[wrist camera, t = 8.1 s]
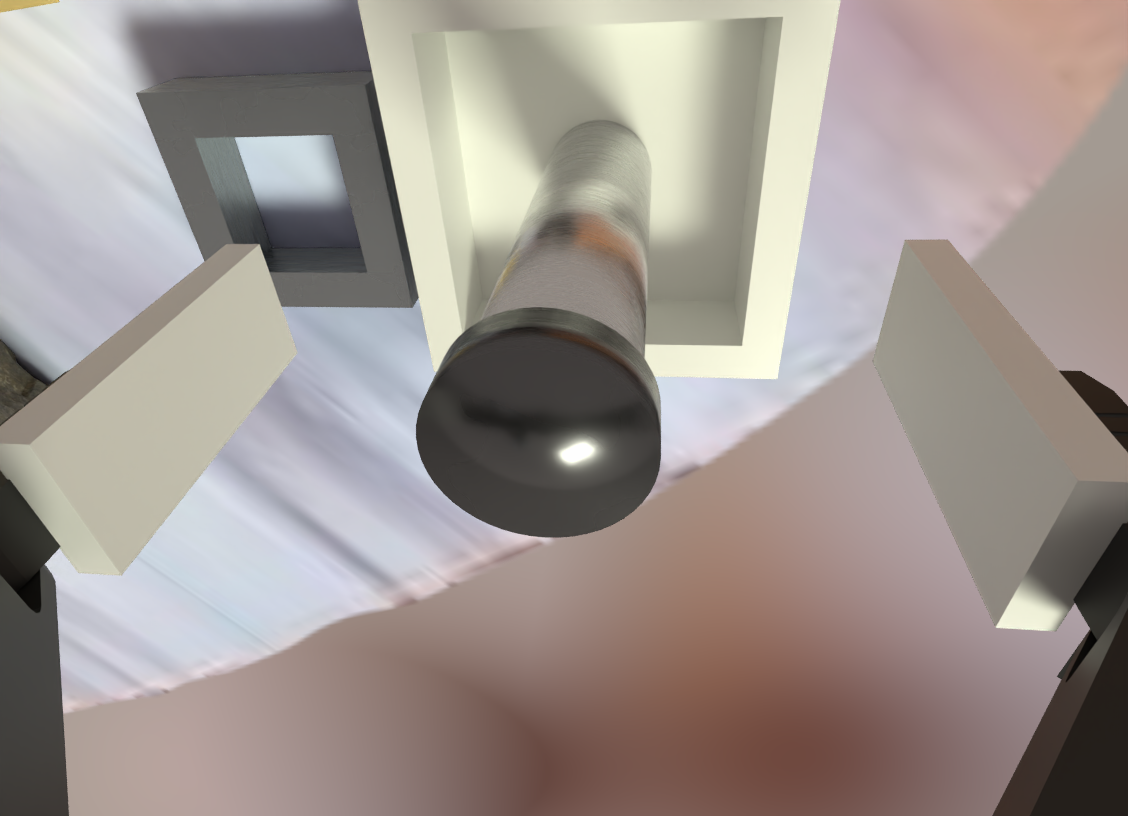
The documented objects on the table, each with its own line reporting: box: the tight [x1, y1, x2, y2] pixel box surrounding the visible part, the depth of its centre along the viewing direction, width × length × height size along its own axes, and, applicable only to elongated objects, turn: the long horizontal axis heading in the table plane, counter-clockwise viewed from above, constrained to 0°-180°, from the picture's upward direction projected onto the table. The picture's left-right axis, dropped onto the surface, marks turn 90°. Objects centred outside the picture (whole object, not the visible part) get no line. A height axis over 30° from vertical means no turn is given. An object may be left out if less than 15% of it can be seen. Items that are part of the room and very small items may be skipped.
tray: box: [357, 0, 840, 379], centre depth 20 cm, size 11×11×4 cm
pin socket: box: [136, 71, 419, 308], centre depth 22 cm, size 7×7×2 cm
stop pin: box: [416, 120, 661, 537], centre depth 16 cm, size 4×4×13 cm
